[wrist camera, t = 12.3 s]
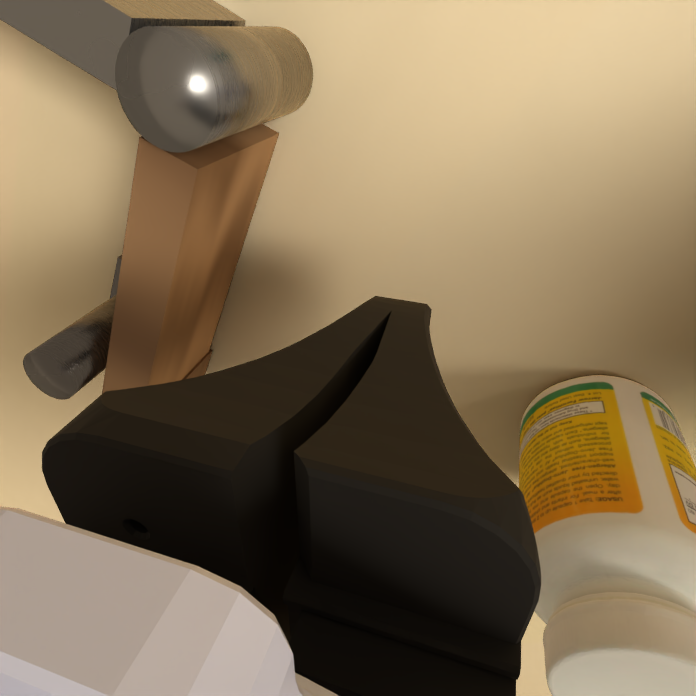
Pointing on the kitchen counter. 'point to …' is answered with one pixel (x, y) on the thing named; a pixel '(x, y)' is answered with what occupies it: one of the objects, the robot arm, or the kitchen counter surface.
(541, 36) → the kitchen counter surface
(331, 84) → the kitchen counter surface
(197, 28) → the fence
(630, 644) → the supplement bottle
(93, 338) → the latch post
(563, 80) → the kitchen counter surface
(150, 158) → the brown wooden block
